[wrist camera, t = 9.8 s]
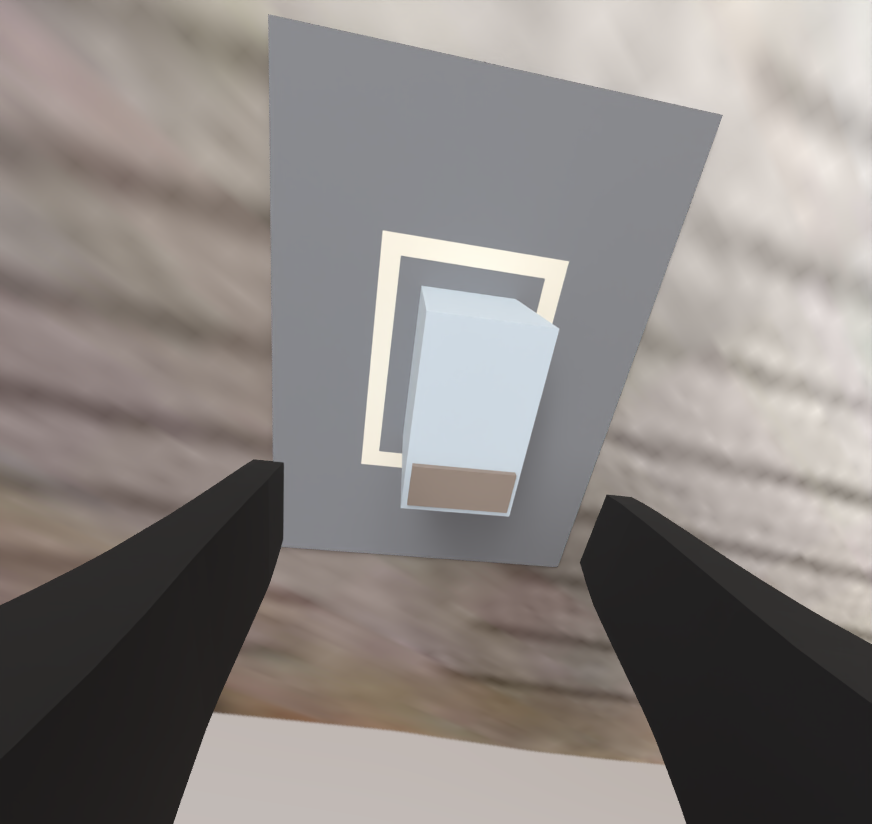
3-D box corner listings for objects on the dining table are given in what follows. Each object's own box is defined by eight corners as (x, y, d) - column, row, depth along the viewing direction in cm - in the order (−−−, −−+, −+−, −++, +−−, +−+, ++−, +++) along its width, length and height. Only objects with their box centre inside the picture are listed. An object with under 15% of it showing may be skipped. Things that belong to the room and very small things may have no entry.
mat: (555, 563, 24) (557, 567, 24) (275, 542, 22) (273, 546, 22) (717, 116, 15) (723, 114, 15) (271, 18, 13) (268, 13, 13)
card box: (515, 299, 17) (561, 330, 12) (484, 443, 20) (510, 520, 15) (421, 285, 17) (426, 312, 11) (402, 435, 19) (400, 511, 14)
